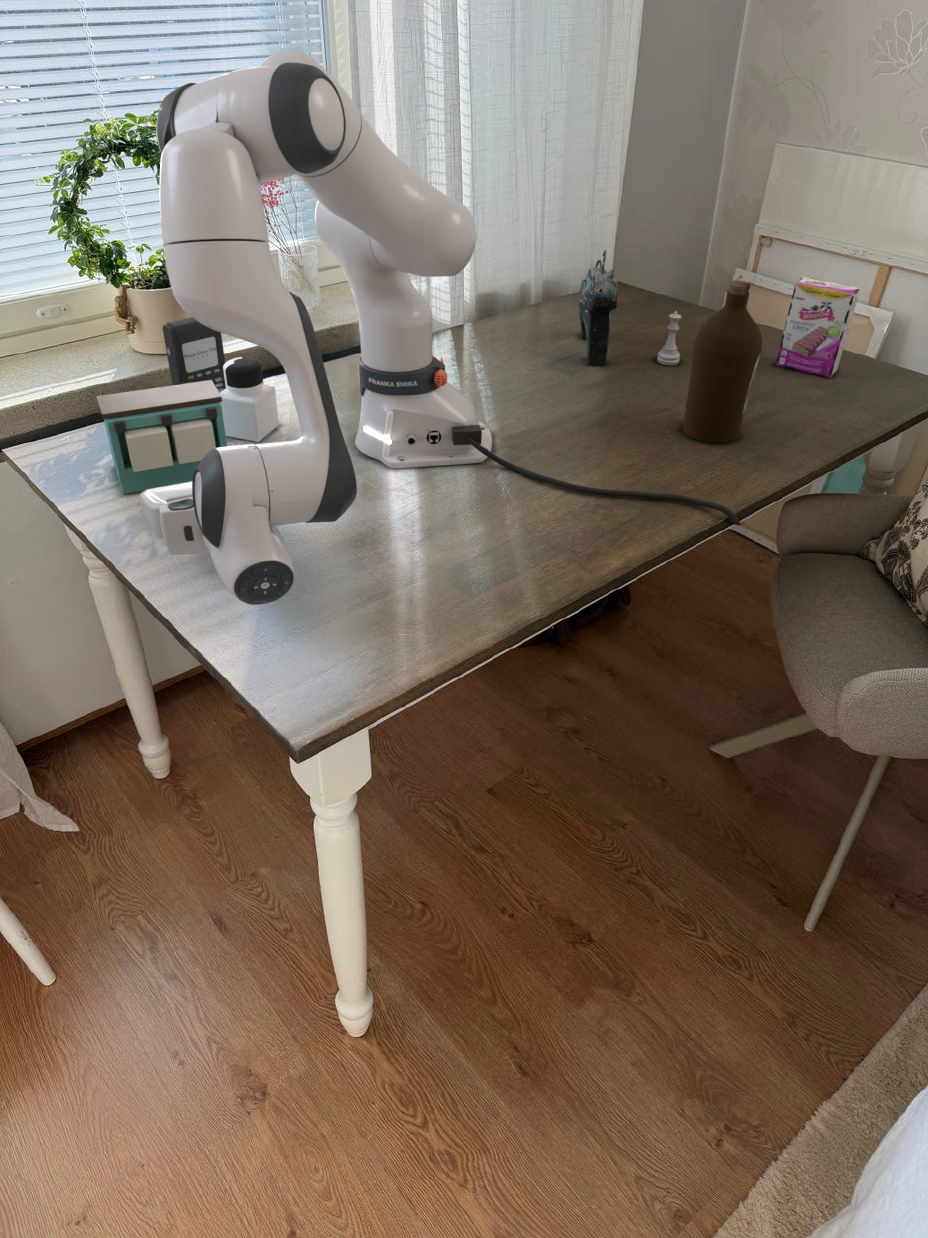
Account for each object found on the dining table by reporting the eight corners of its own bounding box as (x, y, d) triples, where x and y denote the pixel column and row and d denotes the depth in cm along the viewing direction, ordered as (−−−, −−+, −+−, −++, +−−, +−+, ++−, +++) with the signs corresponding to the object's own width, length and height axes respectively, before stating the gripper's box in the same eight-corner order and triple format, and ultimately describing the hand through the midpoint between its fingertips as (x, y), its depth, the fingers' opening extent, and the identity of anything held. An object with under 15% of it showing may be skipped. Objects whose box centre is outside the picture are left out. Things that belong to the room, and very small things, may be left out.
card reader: (185, 415, 158) (170, 329, 149) (174, 407, 160) (158, 322, 151) (232, 401, 163) (220, 317, 154) (221, 394, 165) (209, 311, 156)
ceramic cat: (611, 369, 179) (624, 263, 167) (578, 368, 179) (589, 262, 167) (600, 333, 195) (612, 234, 183) (570, 332, 195) (579, 233, 183)
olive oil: (686, 445, 153) (715, 293, 138) (673, 418, 161) (698, 272, 146) (749, 445, 153) (784, 294, 138) (732, 418, 162) (763, 273, 147)
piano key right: (217, 457, 136) (212, 424, 133) (179, 464, 135) (172, 430, 131) (212, 448, 139) (207, 414, 136) (174, 454, 137) (168, 420, 134)
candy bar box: (774, 366, 182) (794, 281, 172) (781, 358, 186) (801, 275, 176) (831, 379, 177) (854, 293, 168) (838, 371, 181) (861, 286, 171)
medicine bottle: (279, 425, 156) (272, 356, 148) (258, 443, 150) (250, 372, 143) (242, 418, 157) (233, 350, 150) (220, 435, 152) (210, 365, 145)
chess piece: (662, 355, 185) (670, 305, 179) (682, 360, 183) (691, 310, 177) (653, 362, 182) (660, 311, 176) (673, 367, 180) (681, 316, 174)
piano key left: (173, 465, 134) (167, 431, 131) (134, 472, 132) (126, 437, 129) (169, 455, 137) (162, 421, 134) (130, 461, 135) (122, 427, 132)
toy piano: (235, 477, 141) (224, 401, 133) (121, 497, 135) (103, 419, 128) (221, 450, 148) (210, 376, 140) (112, 468, 142) (94, 393, 135)
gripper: (310, 483, 119) (281, 438, 129) (147, 513, 112) (130, 464, 122) (313, 524, 123) (285, 478, 133) (156, 557, 116) (139, 506, 126)
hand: (209, 472), depth 127 cm, fingers closed
